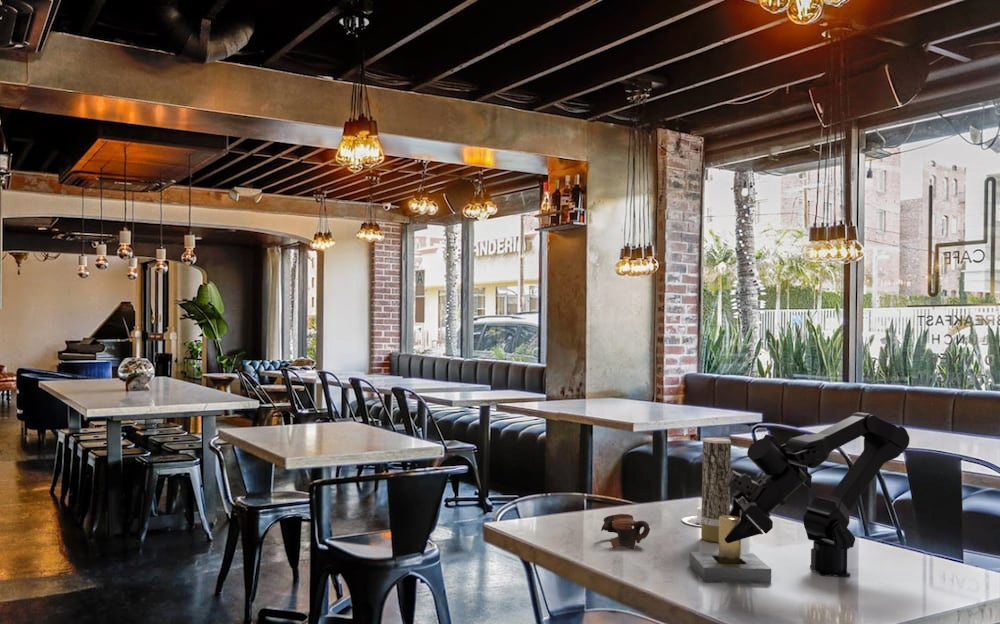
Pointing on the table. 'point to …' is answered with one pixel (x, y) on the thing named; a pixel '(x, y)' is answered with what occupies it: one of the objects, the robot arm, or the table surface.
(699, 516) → the candle holder
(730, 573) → the jig plate
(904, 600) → the table surface
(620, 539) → the pottery mug
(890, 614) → the table surface
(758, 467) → the robot arm
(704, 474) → the bark covered log
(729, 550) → the brass cylinder
